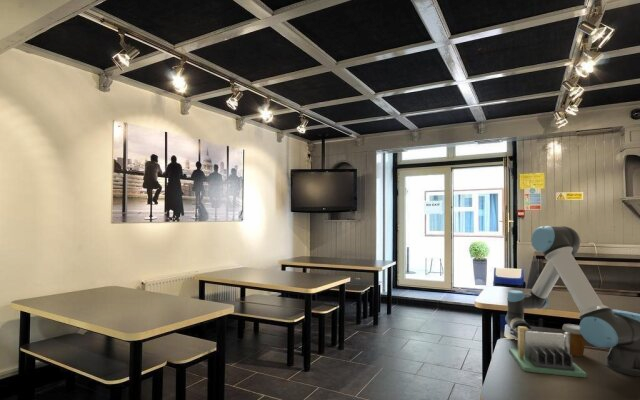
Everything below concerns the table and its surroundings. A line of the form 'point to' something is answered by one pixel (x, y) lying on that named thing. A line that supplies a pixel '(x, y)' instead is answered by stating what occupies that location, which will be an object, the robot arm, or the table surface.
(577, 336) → the disposable coffee cup
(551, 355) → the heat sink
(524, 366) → the motherboard
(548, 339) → the grey flat slab
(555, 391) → the table surface
